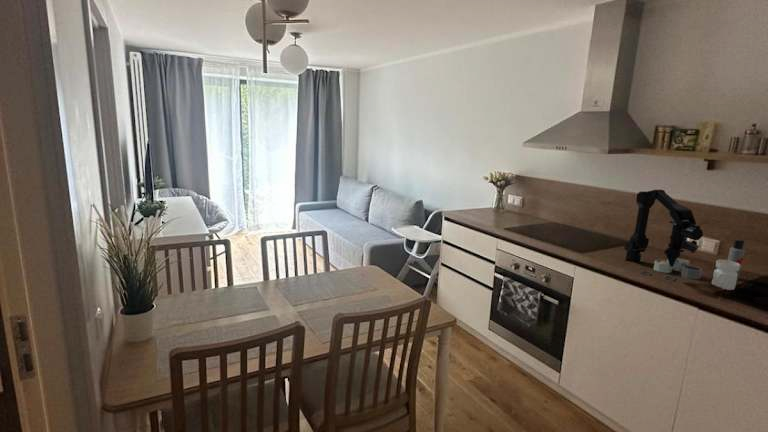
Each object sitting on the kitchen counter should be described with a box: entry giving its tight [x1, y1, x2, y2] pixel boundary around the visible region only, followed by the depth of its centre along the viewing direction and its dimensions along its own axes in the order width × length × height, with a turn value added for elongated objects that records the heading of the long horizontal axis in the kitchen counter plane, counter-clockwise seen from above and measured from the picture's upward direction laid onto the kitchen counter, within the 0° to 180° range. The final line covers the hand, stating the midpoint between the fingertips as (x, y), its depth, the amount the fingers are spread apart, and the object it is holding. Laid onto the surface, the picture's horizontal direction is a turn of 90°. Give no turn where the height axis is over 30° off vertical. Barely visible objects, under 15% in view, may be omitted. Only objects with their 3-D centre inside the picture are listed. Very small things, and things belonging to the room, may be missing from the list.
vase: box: [711, 259, 740, 291], centre depth 194 cm, size 9×9×12 cm
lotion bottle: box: [727, 238, 746, 280], centre depth 204 cm, size 6×6×20 cm
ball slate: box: [666, 258, 679, 267], centre depth 199 cm, size 5×5×5 cm
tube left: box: [653, 259, 673, 274], centre depth 213 cm, size 8×8×5 cm
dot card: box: [672, 257, 690, 273], centre depth 212 cm, size 8×1×7 cm, turn 47°
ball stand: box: [640, 270, 676, 282], centre depth 205 cm, size 16×6×1 cm, turn 47°
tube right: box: [680, 264, 703, 280], centre depth 205 cm, size 8×8×5 cm
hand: (672, 265), depth 200 cm, fingers closed on ball slate, 5 cm apart
